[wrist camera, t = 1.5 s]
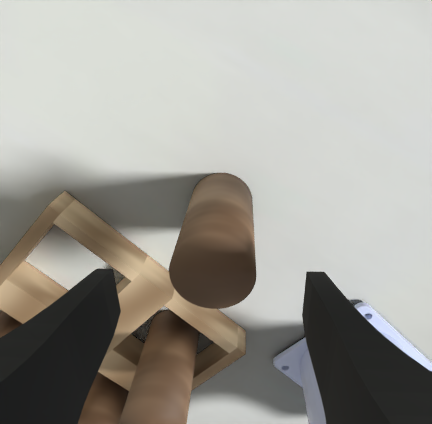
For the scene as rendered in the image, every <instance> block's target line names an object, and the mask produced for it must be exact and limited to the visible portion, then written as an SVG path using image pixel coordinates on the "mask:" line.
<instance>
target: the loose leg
mask: <svg viewBox="0 0 432 424" xmlns="http://www.w3.org/2000/svg"><path fill="white" fill-rule="evenodd" d="M169 276H170V280H171V283H172V285H173V287H174V289H175V290H176V291H177V293H178V294H179V295H180V296H181V297H183V298H184V299H185V300H187V301H188V302H190V303H192V304H194V305H197V306H200V307H203V308H210V309H220V308H226V307H230V306H233V305H235V304H237V303H239V302H241V301H242V300H244V299H245V298H246V297H247V296H248V295H249V294H250V292H251V291H252V289H253V287H254V285H255V281H256V262H255V243H254V224H253V205H252V195H251V192H250V190H249V188H248V186H247V185H246V184H245V183H244V182H243V181H242V180H241V179H240V178H238V177H236V176H234V175H231V174H227V173H215V174H211V175H208V176H206V177H205V178H203V179H202V180H201V181H199V182H198V184H197V185H196V186H195V188H194V190H193V193H192V196H191V199H190V203H189V206H188V209H187V212H186V215H185V218H184V221H183V224H182V228H181V231H180V234H179V237H178V240H177V243H176V246H175V250H174V253H173V256H172V259H171V262H170V266H169Z"/></svg>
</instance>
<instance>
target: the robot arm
mask: <svg viewBox="0 0 432 424" xmlns="http://www.w3.org/2000/svg"><path fill="white" fill-rule="evenodd" d="M120 313H121V309H120V304H119V299H118V294H117V288H116V283H115V278H114V273H113V269H96V270H95V271H93V272H92V273H91V274H89V275H88V276H87V277H85V278H84V279H83V280H82V281H80V282H79V283H78V284H77V285H75V286H74V287H73V288H72V289H70V290H69V291H68V292H66V293H65V294H64V295H63V296H61V297H60V298H59V299H58V300H56V301H55V302H54V303H52V304H51V305H49V306H48V307H47V308H45V309H44V310H42V311H41V312H40V313H38V314H37V315H35V316H34V317H33V318H31V319H30V320H28V321H27V322H25V323H24V324H22V325H20V326H19V327H17V328H16V329H14V330H12V331H11V332H9V333H7V334H6V335H4V336H2V337H1V338H0V424H78V421H79V418H80V415H81V412H82V409H83V406H84V403H85V401H86V398H87V396H88V393H89V391H90V388H91V386H92V384H93V382H94V379H95V377H96V375H97V373H98V370H99V368H100V366H101V364H102V361H103V359H104V357H105V355H106V352H107V350H108V348H109V346H110V343H111V341H112V339H113V336H114V333H115V330H116V327H117V323H118V320H119V316H120ZM367 313H370V314H369V315H365V314H367ZM302 316H303V323H304V331H305V338H303V339H302V340H300V341H299V342H297V343H296V344H294V345H293V346H291V347H289V348H288V349H286V350H285V351H283V352H282V353H280V354H279V355H277V356H276V357H274V359H273V364H274V366H275V367H276V368H277V369H278V370H280V371H281V372H282V373H284V374H285V375H286V376H288V377H289V378H290V379H291V380H293V381H294V382H295V383H297V384H298V385H299V386H301V387H302V388H303V392H304V398H305V404H306V410H307V416H308V422H309V424H432V362H431V361H429V360H428V359H427V358H426V357H425V356H424V355H423V354H422V353H421V352H420V351H419V350H417V349H416V348H415V347H414V346H413V345H412V344H411V343H410V342H409V341H408V340H407V339H406V338H404V337H403V336H402V335H401V334H400V333H399V332H398V331H397V330H396V329H395V328H394V327H393V326H391V325H390V324H389V323H388V322H387V321H386V320H385V319H384V318H383V317H382V316H381V315H379V314H378V313H377V312H376V311H375V310H374V309H373V308H372V307H371V306H370V305H369V304H367V303H364V302H361V303H358V304H356V305H354V306H353V305H352V304H351V303H350V302H349V300H348V299H347V298H346V297H345V296H344V295H343V294H342V292H341V291H340V290H339V289H338V288H337V287H336V285H335V284H334V283H333V282H332V281H331V279H330V278H329V277H328V276H327V275H326V274H325V272H307V274H306V284H305V294H304V304H303V314H302ZM284 365H286V366H284Z"/></svg>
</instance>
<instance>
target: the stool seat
mask: <svg viewBox="0 0 432 424" xmlns="http://www.w3.org/2000/svg"><path fill="white" fill-rule="evenodd" d="M54 224H55V225H56V226H58V227H59V228H60V229H62V230H63V231H64V232H66V233H67V234H68V235H70V236H71V237H73V238H74V239H75V240H77V241H78V242H79V243H81V244H82V245H83V246H85V247H86V248H87V249H89V250H90V251H91V252H93V253H94V254H95V255H97V256H98V257H100V258H101V259H102V260H104V261H105V262H106V263H108V264H109V265H110V266H112V267H113V268H114V269H116V270H117V271H118V272H120V273H121V274H123V275H124V276H125V277H124V278H123V279H122V280H121V281H120V282H119V283H118V284H117V285H116V288H117V294H118V299H119V304H120V309H121V313H120V316H119V320H118V323H117V327H116V330H115V333H114V336H113V339H112V341H111V343H110V346H109V348H108V350H107V352H106V355H105V357H104V359H103V361H102V364H101V366H100V368H99V370H98V373H97V375H96V377H95V379H94V382H93V384H92V386H91V388H90V391H89V393H88V396H87V398H86V401H85V403H84V406H83V409H82V412H81V415H80V418H79V421H78V424H186V422H187V416H188V409H189V402H190V395H191V391H192V390H193V389H195V388H196V387H198V386H199V385H201V384H202V383H204V382H205V381H207V380H208V379H210V378H211V377H212V376H214V375H215V374H217V373H218V372H220V371H221V370H223V369H224V368H226V367H227V366H229V365H230V364H232V363H233V362H235V361H236V360H238V359H239V358H240V357H242V356H243V355H245V354H246V331H245V330H244V329H242V328H241V327H240V326H239V325H237V324H236V323H235V322H233V321H232V320H231V319H229V318H228V317H227V316H226V315H224V314H223V313H222V312H220V311H219V310H218V309H210V308H203V307H200V306H197V305H194V304H192V303H190V302H188V301H187V300H185V299H184V298H183V297H181V296H180V295H179V294H178V293H177V291H176V290H175V289H174V287H173V285H172V283H171V280H170V276H169V271H168V270H166V269H165V268H164V267H162V266H161V265H160V264H159V263H157V262H156V261H155V260H153V259H152V258H151V257H150V256H148V255H147V254H146V253H144V252H143V251H142V250H141V249H139V248H138V247H137V246H135V245H134V244H133V243H132V242H130V241H129V240H128V239H126V238H125V237H124V236H122V235H121V234H120V233H119V232H117V231H116V230H115V229H113V228H112V227H111V226H110V225H108V224H107V223H106V222H104V221H103V220H102V219H101V218H99V217H98V216H97V215H95V214H94V213H93V212H92V211H90V210H89V209H88V208H86V207H85V206H84V205H83V204H81V203H80V202H79V201H77V200H76V199H75V198H73V197H72V196H71V195H70V194H68V193H67V192H66V191H64V192H63V193H62V194H60V195H59V196H58V197H57V198H56V199H55V200H54V201H53V202H51V203H50V204H49V205H48V206H47V207H46V209H45V210H44V211H43V212H42V214H41V215H40V216H39V217H38V219H37V220H36V221H35V222H34V224H33V225H32V226H31V227H30V229H29V230H28V231H27V232H26V234H25V235H24V236H23V237H22V239H21V240H20V241H19V242H18V244H17V245H16V246H15V247H14V249H13V250H12V251H11V252H10V254H9V255H8V256H7V257H6V259H5V260H4V261H3V262H2V264H1V265H0V310H2V311H1V312H0V338H1V337H2V336H4V335H6V334H7V333H9V332H11V331H12V330H14V329H16V328H17V327H19V326H20V325H22V324H24V323H25V322H27V321H28V320H30V319H31V318H33V317H34V316H35V315H37V314H38V313H40V312H41V311H42V310H44V309H45V308H47V307H48V306H49V305H51V304H52V303H54V302H55V301H56V300H58V299H59V298H60V297H61V296H63V295H64V294H65V293H66V292H68V290H66V289H65V288H63V287H62V286H61V285H59V284H58V283H56V282H55V281H53V280H52V279H50V278H49V277H48V276H46V275H45V274H43V273H42V272H40V271H39V270H37V269H36V268H34V267H33V266H32V265H30V264H29V263H27V262H26V261H24V260H25V259H26V258H27V256H28V255H29V254H30V253H31V252H32V250H33V249H34V248H35V247H36V246H37V244H38V243H39V242H40V241H41V240H42V238H43V237H44V236H45V235H46V234H47V232H48V231H49V230H50V229H51V228H52V226H53V225H54ZM163 306H166V307H167V308H168V309H170V310H166V311H163V312H160V313H158V314H157V315H156V316H155V317H154V318H153V319H152V322H151V325H150V328H149V331H148V334H147V337H146V340H145V343H143V342H142V341H140V340H139V339H137V338H136V337H134V336H133V335H132V334H131V333H132V332H134V331H135V330H136V329H137V328H138V327H139V326H141V325H142V324H143V323H144V322H145V321H146V320H148V319H149V318H150V317H151V316H152V315H154V314H155V313H156V312H157V311H158V310H159V309H161V308H162V307H163ZM200 332H201V333H202V334H204V335H205V336H206V337H208V338H209V339H210V340H212V341H213V342H214V343H212V344H211V345H210V346H208V347H207V348H206V349H204V350H203V351H201V352H200V353H199V354H197V348H198V341H199V334H200ZM196 354H197V355H196Z"/></svg>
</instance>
